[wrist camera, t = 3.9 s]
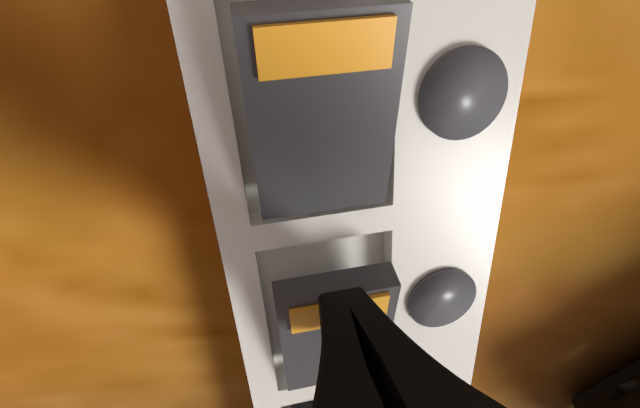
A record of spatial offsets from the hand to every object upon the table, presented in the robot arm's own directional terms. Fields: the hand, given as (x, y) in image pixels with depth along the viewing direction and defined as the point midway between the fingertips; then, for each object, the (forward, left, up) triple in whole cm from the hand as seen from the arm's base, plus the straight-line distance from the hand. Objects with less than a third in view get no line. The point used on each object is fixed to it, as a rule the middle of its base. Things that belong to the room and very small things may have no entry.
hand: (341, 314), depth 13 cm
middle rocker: (-1, -2, -2) cm, 3 cm away
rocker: (+4, +4, -2) cm, 6 cm away
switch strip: (0, -3, -5) cm, 5 cm away
